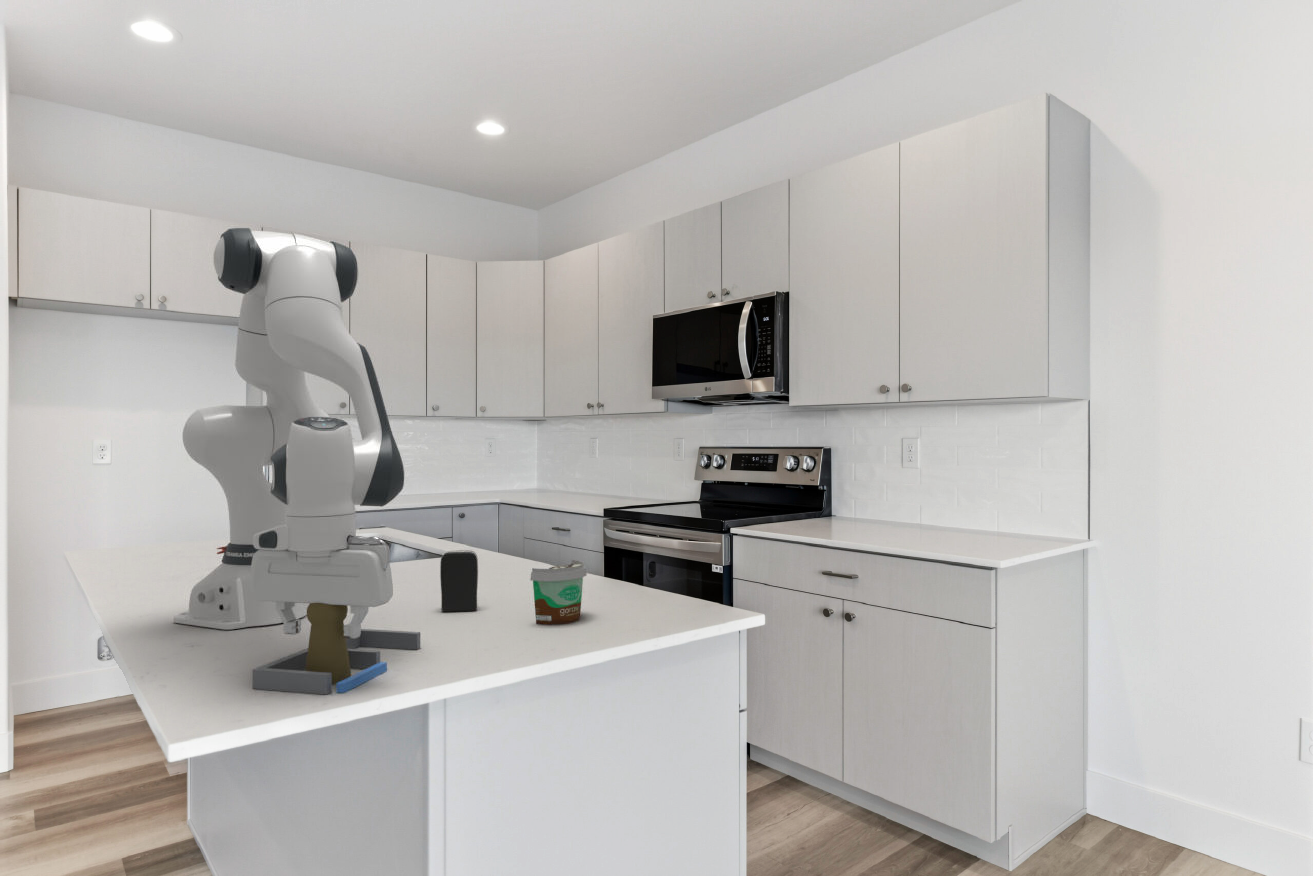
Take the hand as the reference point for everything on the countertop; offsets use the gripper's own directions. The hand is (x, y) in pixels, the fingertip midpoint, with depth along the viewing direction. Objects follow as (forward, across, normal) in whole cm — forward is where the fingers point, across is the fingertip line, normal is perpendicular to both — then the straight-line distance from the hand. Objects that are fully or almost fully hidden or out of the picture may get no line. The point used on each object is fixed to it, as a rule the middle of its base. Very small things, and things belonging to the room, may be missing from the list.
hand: (322, 635), depth 109 cm
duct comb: (+6, 0, -5) cm, 8 cm away
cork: (+6, -1, 0) cm, 6 cm away
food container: (+6, -21, -40) cm, 45 cm away
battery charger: (+6, +2, -43) cm, 44 cm away
